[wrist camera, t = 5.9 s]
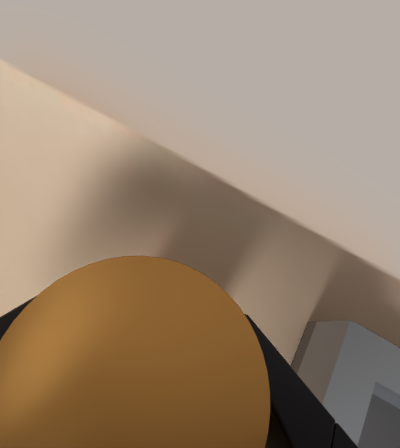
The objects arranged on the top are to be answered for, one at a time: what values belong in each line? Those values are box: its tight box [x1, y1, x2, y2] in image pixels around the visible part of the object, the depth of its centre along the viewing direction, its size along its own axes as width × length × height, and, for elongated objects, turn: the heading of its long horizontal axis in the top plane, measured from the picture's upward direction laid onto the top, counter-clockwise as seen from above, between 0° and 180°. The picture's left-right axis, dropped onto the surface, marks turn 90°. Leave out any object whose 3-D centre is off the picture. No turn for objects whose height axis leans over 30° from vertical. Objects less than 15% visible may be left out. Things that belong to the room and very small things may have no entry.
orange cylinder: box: [0, 256, 270, 448], centre depth 9 cm, size 4×4×10 cm
